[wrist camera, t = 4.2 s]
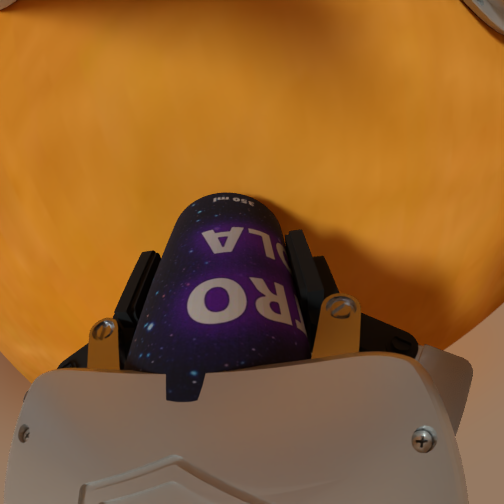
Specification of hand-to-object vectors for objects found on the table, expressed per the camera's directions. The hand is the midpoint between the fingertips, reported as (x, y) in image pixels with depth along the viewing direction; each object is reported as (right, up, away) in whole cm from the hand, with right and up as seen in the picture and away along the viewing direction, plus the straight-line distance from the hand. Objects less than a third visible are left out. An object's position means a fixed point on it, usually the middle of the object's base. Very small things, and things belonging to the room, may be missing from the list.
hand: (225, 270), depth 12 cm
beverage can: (0, +2, +3) cm, 3 cm away
